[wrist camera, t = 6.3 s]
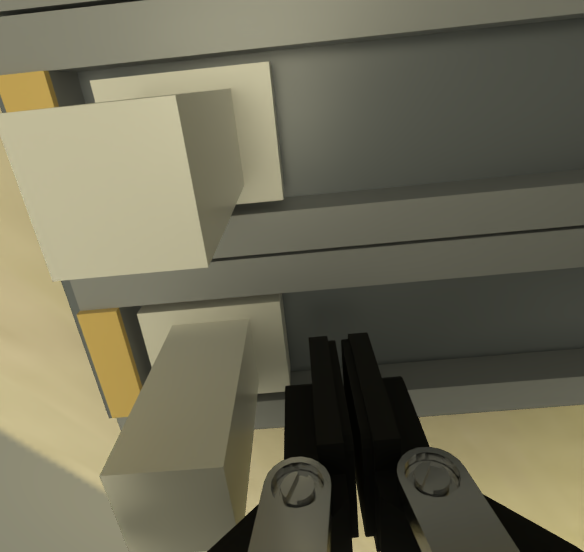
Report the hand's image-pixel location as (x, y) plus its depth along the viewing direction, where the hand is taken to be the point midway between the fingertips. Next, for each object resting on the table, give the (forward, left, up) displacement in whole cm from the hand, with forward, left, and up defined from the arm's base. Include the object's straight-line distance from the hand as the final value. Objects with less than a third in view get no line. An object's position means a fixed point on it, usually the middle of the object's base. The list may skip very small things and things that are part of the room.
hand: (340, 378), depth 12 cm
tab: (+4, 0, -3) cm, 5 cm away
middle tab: (+3, -7, -3) cm, 8 cm away
